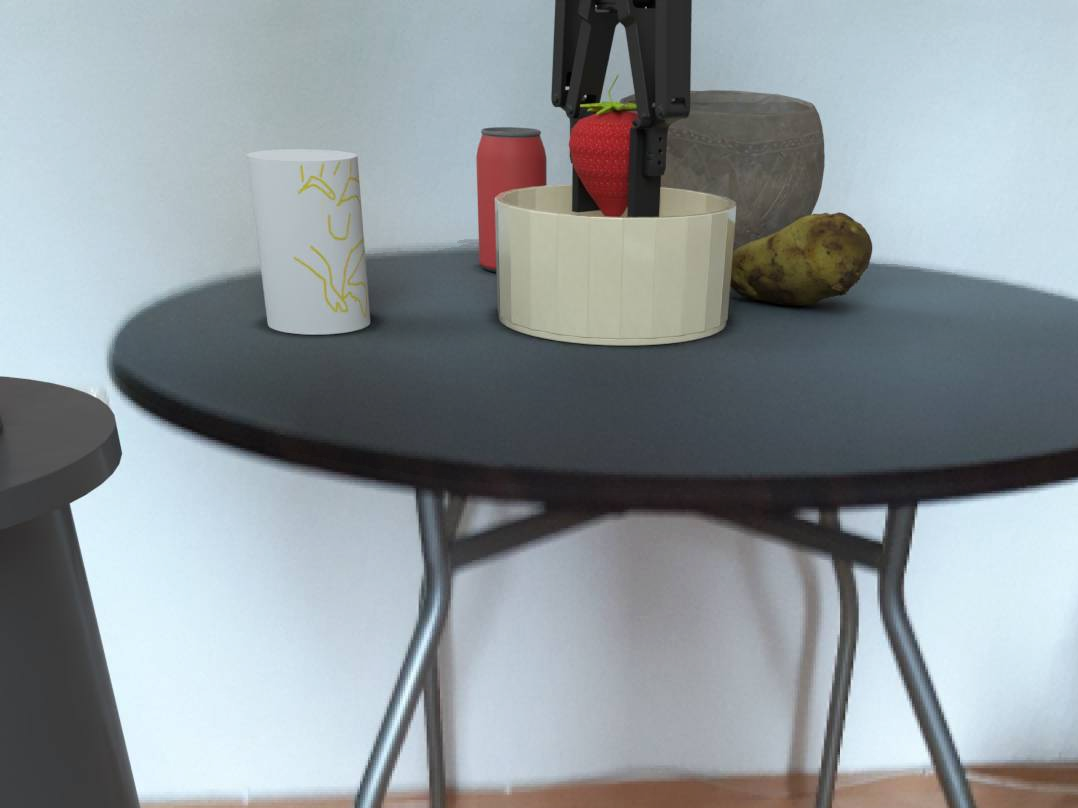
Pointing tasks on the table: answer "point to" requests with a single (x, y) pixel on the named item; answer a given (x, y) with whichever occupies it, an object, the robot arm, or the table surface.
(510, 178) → the beer can
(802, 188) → the bowl
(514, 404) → the table surface
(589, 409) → the table surface
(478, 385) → the table surface
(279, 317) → the cup
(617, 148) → the strawberry
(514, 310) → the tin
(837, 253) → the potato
